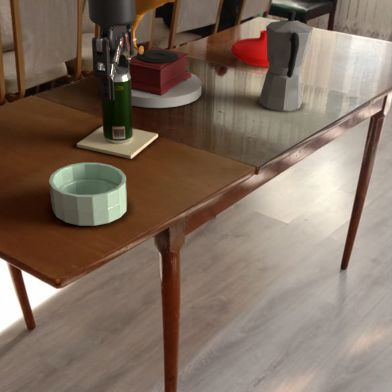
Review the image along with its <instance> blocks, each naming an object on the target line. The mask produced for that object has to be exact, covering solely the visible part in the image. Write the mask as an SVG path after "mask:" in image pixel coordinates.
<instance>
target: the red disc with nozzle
mask: <svg viewBox="0 0 392 392" xmlns="http://www.w3.org/2000/svg"><path fill="white" fill-rule="evenodd" d="M230 50H231V55H232V56H233V57H234V58H236V59H237V60H238V61H240V62H242V63H244V64H246V65H249V66H254V67H260V68H261V67H262V68H269V62H268V61H267V36H266V29H265V30H263V29H262V30H260V32H259V37H250V38H249V37H248V38H242V39H238V40H236V41H235V42H234V43H233V44H232V45H231V47H230Z"/></svg>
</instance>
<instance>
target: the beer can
mask: <svg viewBox="0 0 392 392" xmlns="http://www.w3.org/2000/svg"><path fill="white" fill-rule="evenodd" d="M103 70H105V67H104V68H103ZM129 73H130V71H129V69H127V68H125V67H120V66H116V67H115V71H114V77H113V79H114V94H115V99H114V101H113V102H106V101H102V99H101V98H100V103H101V105H100V106H101V118H102V126H103V135H104V138H105V140H106V141H107V142H109V143H112V144H124V143H127V142H129V141H130V140H131V138H132V136H133V129H134V128H133V127H134V126H133V106H132V92H131V76H130V74H129Z"/></svg>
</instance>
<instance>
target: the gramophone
mask: <svg viewBox="0 0 392 392" xmlns="http://www.w3.org/2000/svg"><path fill="white" fill-rule="evenodd" d="M175 1H176V0H135V17H136V18H135V21H134V22H133V47H134V50H137V52H138V53H137V54H136V55H133V56H131V61H130V63H129V71H130V73H129V74H130V76H131V92H132V107H133V106H134V107H140V108H145V109H146V108H149V109H150V108H151V109H154V108H155V109H164V108H165V109H166V108H174V107H175V108H176V107H180V106H184V105H188V104H192V103H193V102H195V101H198V99H199V98H200V97H201V96H202V79H200V78H199V77H198V76H197V75H195V74H193V73H191V72H189V71H187V57H188V56H190V53H188V52H181V51H176V50H171V49H166V48H162V47H161V48H160V47H155V46H152V47H150V48H148V49H146V50H145V47H144V46H143V45H140V46H139V47H138V46H137V43H136V41H137V38H136V30H137V28H138V26H139V24H140V22H141V20H142V19H143V18H144V16H145V15H146V14H147V13H149V12H150V11H151V10H156V9H157V8H160V7H161V6H163V5H165V4H167V3H175Z"/></svg>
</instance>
